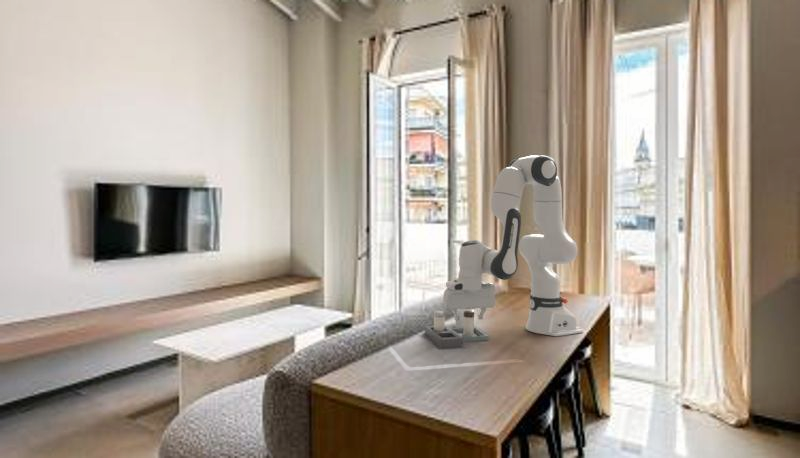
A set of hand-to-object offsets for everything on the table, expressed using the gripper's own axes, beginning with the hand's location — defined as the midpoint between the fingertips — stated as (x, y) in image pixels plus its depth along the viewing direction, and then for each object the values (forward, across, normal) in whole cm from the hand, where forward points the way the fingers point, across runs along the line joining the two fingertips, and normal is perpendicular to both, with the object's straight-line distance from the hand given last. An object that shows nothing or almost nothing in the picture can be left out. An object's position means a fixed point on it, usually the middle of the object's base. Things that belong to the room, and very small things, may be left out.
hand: (468, 319), depth 185 cm
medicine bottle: (+8, -4, -14) cm, 17 cm away
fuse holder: (+7, +12, +3) cm, 14 cm away
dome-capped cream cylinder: (+6, +12, -1) cm, 13 cm away
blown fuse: (+7, 0, 0) cm, 7 cm away
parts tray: (+7, 0, 0) cm, 7 cm away
